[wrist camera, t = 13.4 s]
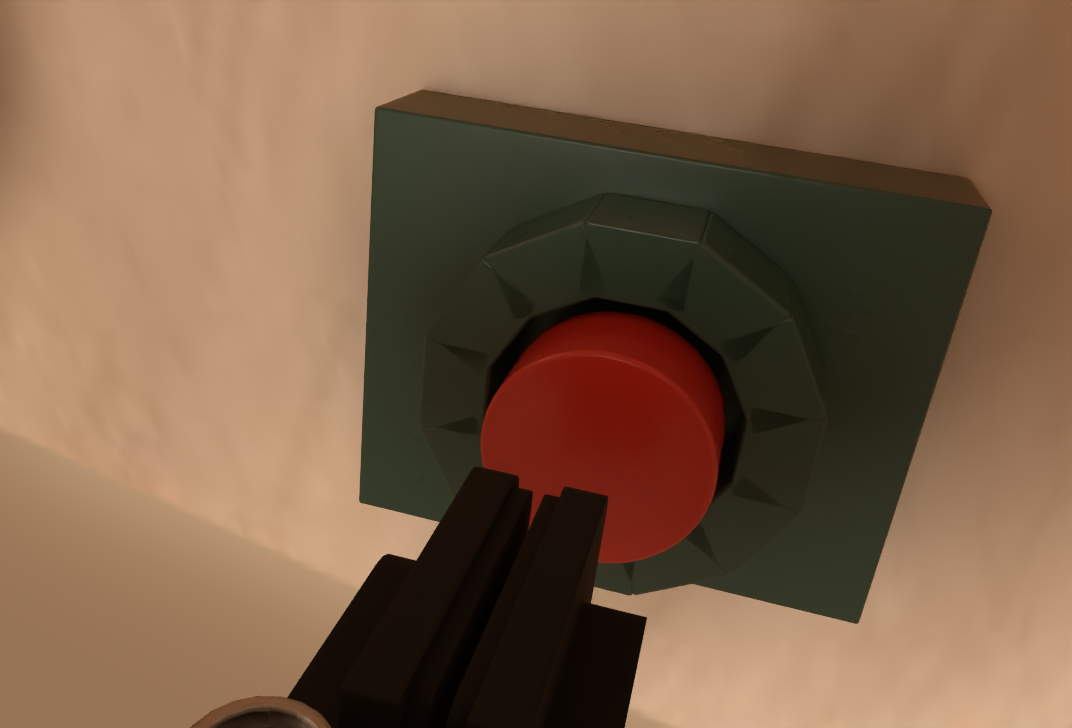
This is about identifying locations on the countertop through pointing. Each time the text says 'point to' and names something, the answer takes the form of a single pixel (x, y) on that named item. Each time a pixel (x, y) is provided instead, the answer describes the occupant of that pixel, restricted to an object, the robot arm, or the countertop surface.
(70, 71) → the countertop surface
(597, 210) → the button housing
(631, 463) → the button
